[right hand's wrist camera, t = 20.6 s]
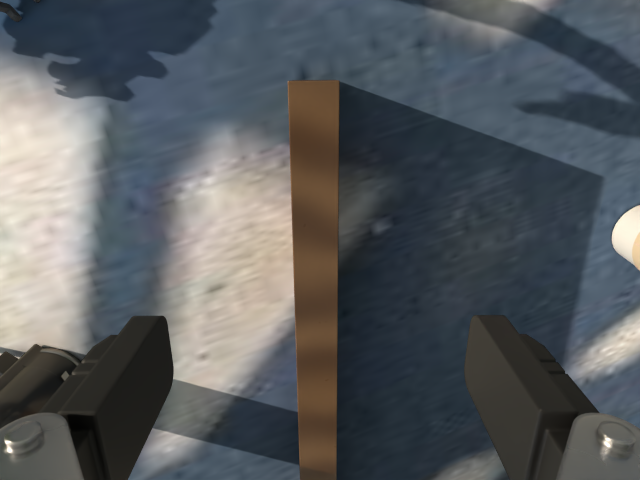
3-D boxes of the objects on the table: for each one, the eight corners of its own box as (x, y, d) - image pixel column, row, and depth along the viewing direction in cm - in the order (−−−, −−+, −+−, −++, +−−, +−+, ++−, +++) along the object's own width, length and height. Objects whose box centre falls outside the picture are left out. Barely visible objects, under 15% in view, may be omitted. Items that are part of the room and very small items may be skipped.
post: (293, 80, 46) (287, 81, 38) (335, 79, 46) (339, 80, 38) (306, 566, 72) (304, 628, 64) (333, 565, 72) (335, 628, 64)
